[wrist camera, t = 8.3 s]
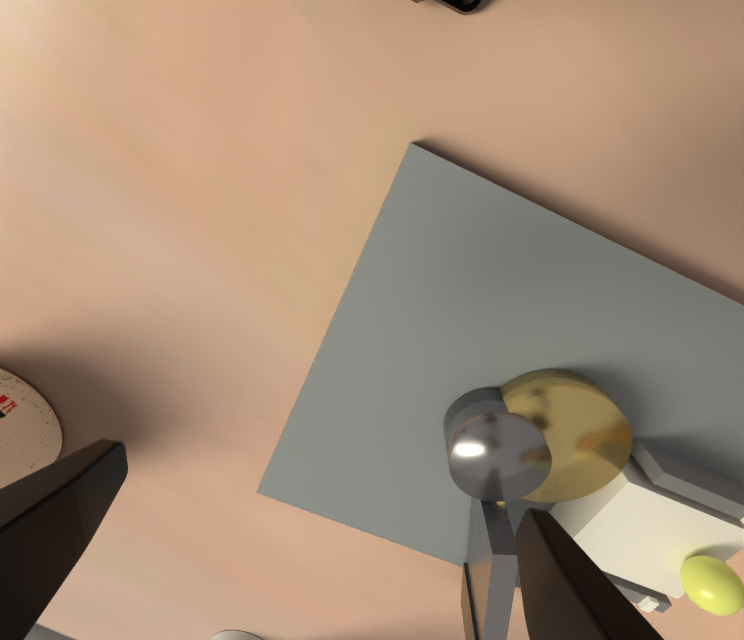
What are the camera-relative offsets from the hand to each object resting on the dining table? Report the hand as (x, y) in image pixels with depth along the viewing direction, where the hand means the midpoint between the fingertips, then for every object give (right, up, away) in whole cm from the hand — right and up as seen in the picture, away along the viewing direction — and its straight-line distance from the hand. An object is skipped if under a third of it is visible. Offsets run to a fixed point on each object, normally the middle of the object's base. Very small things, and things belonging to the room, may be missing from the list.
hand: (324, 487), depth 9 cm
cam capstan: (+10, -7, +15) cm, 20 cm away
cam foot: (+16, -7, +15) cm, 23 cm away
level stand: (+10, -3, +14) cm, 18 cm away
